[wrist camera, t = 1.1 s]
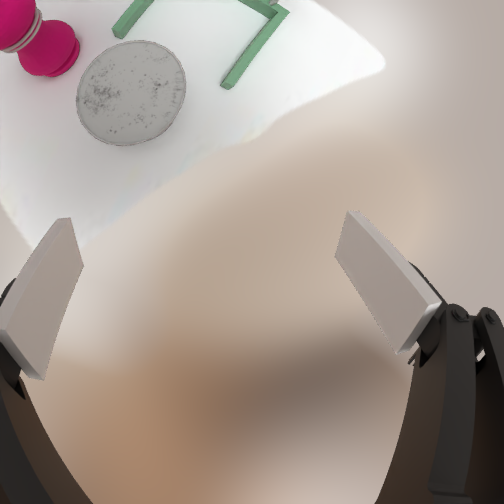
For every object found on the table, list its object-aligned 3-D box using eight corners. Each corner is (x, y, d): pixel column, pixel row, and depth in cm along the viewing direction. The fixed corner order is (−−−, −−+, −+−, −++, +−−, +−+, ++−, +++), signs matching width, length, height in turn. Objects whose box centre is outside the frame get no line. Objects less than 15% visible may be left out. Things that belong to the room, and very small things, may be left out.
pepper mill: (62, 87, 24) (-22, 57, 6) (27, 72, 20) (-60, 45, 3) (93, 40, 22) (40, -30, 5) (56, 27, 19) (-8, -32, 2)
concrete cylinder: (135, 58, 25) (122, 23, 15) (193, 94, 30) (209, 74, 19) (90, 120, 27) (56, 115, 16) (149, 155, 32) (141, 166, 21)
